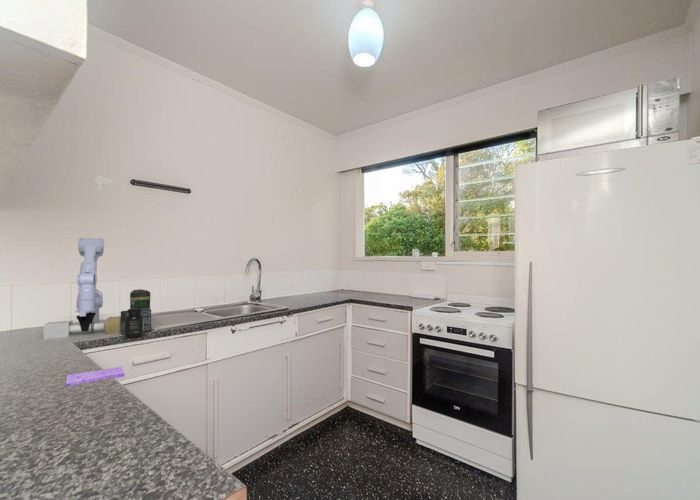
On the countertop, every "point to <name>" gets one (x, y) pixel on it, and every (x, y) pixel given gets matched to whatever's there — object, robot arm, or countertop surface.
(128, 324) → the supplement bottle
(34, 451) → the countertop surface
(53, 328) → the light grey block
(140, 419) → the countertop surface
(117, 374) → the sponges
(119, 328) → the socket
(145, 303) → the coffee jar
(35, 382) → the countertop surface
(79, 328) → the tube
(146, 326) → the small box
